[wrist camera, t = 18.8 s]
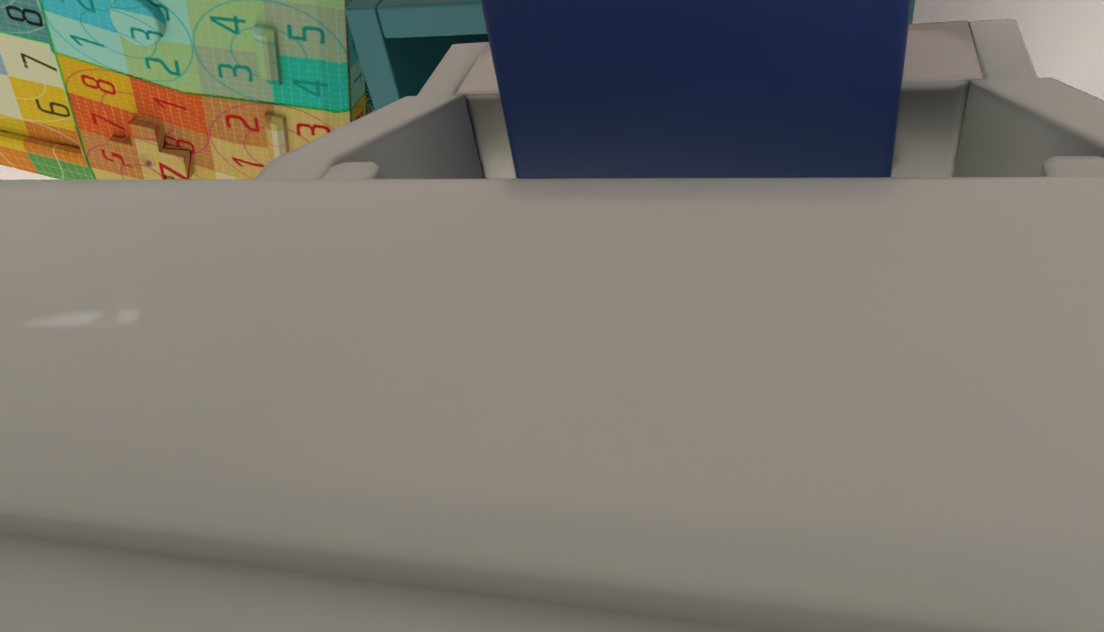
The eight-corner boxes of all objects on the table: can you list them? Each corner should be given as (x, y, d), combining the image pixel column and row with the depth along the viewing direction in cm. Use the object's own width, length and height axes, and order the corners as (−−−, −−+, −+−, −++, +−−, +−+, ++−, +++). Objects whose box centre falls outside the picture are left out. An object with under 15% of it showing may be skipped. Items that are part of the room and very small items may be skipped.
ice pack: (610, 194, 15) (554, 377, 12) (566, -166, 12) (469, -40, 8) (857, 194, 14) (865, 395, 11) (892, -201, 11) (921, -71, 7)
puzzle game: (348, 264, 32) (-157, 143, 34) (392, 190, 36) (-68, 84, 37) (330, -62, 24) (-334, -202, 26) (389, -117, 27) (-200, -238, 29)
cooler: (452, -111, 27) (343, 9, 21) (891, -150, 24) (918, -22, 18) (531, 282, 37) (474, 443, 31) (847, 292, 34) (854, 473, 28)
